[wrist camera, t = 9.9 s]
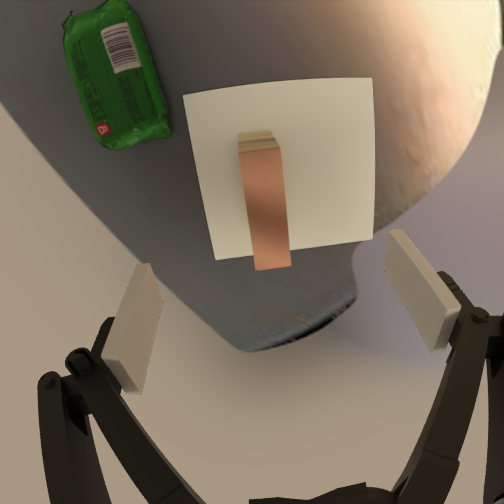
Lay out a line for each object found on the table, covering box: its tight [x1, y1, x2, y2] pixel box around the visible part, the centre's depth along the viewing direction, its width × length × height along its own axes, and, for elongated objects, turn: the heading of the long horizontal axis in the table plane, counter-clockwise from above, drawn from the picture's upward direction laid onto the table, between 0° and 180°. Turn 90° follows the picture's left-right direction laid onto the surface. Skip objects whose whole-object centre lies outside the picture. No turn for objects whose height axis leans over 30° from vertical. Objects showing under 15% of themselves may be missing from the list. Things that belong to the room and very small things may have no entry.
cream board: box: [183, 78, 375, 260], centre depth 31 cm, size 18×18×1 cm
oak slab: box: [238, 130, 291, 270], centre depth 28 cm, size 10×3×8 cm, turn 7°
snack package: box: [61, 0, 171, 150], centre depth 23 cm, size 7×16×5 cm, turn 15°
